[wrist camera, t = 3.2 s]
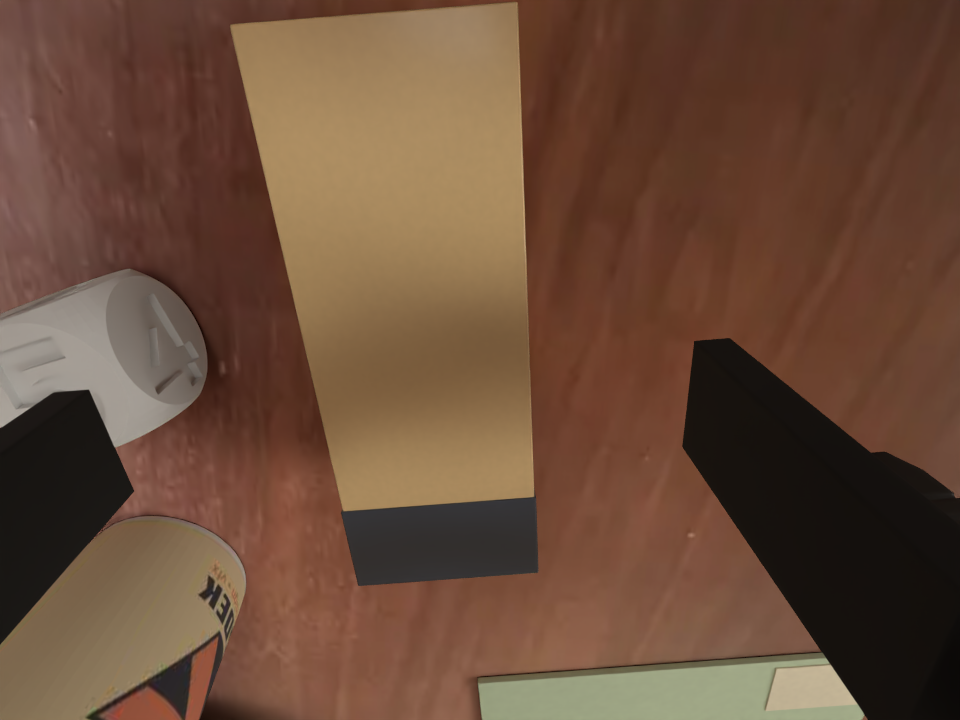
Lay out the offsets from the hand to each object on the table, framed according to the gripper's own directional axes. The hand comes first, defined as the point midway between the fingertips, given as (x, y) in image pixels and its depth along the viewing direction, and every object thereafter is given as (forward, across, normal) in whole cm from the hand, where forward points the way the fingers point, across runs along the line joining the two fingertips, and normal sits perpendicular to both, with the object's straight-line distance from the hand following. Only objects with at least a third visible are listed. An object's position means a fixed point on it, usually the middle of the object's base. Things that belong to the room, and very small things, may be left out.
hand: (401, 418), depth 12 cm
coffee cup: (+10, -15, -14) cm, 23 cm away
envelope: (+10, +12, -31) cm, 35 cm away
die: (+10, -12, -1) cm, 15 cm away
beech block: (+10, 0, 0) cm, 10 cm away
